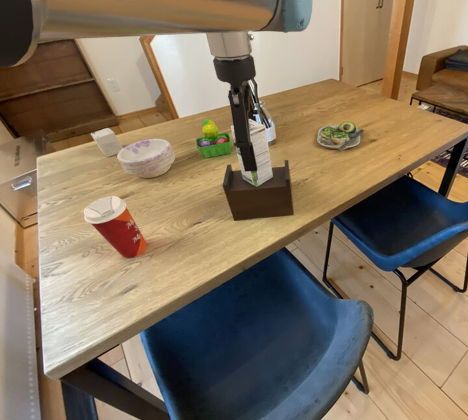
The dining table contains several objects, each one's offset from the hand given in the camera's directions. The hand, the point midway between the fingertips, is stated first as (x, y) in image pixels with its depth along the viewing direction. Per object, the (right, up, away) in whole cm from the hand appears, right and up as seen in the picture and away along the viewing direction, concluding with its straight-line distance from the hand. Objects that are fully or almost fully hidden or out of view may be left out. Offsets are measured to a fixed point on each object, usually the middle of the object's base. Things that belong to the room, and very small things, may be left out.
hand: (253, 154), depth 66 cm
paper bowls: (-40, 0, +26) cm, 47 cm away
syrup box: (0, -5, +5) cm, 7 cm away
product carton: (-61, +8, +35) cm, 70 cm away
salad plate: (+23, +14, +41) cm, 49 cm away
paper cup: (-29, -23, +1) cm, 37 cm away
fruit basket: (-22, +8, +34) cm, 41 cm away
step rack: (0, -10, +14) cm, 17 cm away
